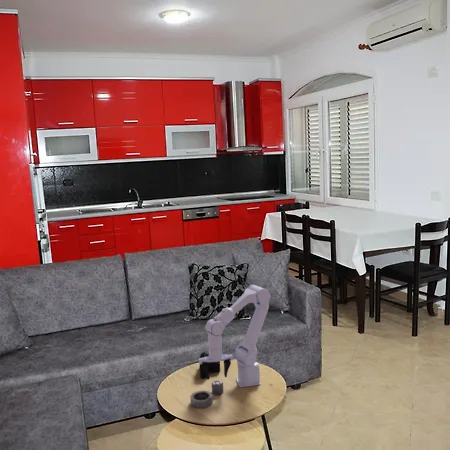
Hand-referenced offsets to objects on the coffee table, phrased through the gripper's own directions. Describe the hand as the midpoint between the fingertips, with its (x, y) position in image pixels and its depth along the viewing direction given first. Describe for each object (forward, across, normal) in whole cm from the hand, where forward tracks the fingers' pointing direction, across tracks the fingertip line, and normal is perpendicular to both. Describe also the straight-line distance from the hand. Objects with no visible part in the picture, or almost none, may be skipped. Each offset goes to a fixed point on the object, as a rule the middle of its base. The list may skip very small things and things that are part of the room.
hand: (216, 377), depth 201 cm
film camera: (+7, 0, -20) cm, 21 cm away
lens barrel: (+7, +8, +7) cm, 13 cm away
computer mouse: (+7, 0, 0) cm, 7 cm away
